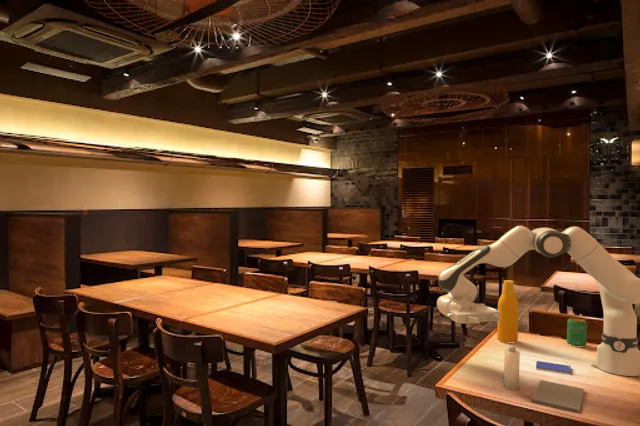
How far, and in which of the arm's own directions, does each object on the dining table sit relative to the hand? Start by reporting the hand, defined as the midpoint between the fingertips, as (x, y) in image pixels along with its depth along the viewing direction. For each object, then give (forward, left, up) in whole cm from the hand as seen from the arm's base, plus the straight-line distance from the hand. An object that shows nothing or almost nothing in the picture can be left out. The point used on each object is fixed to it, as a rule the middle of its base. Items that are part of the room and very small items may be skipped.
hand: (488, 320), depth 175 cm
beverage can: (-65, +25, -21) cm, 73 cm away
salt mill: (+7, +10, -21) cm, 24 cm away
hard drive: (-23, +20, -22) cm, 38 cm away
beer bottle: (-52, -3, -21) cm, 56 cm away
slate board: (+6, +25, -21) cm, 33 cm away
